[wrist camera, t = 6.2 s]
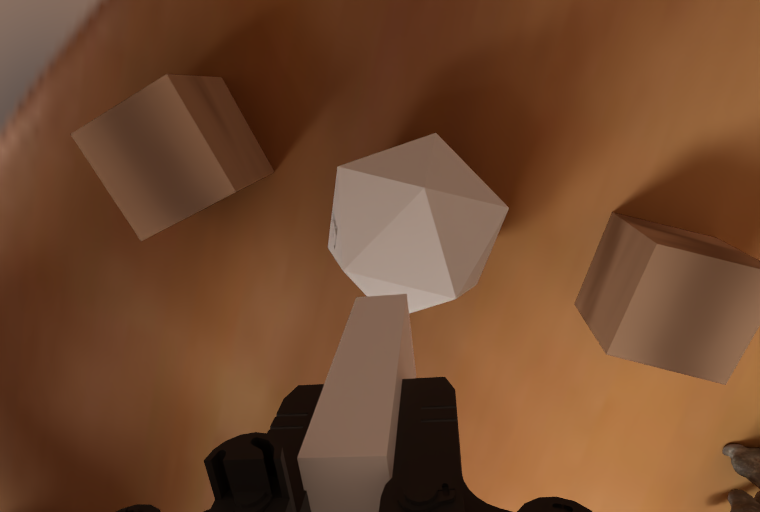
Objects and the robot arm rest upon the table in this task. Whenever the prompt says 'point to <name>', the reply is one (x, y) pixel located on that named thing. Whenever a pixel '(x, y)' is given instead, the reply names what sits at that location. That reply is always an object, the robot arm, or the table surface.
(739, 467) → the dog figurine
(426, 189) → the die
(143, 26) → the table surface
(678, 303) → the walnut block
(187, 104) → the walnut block
